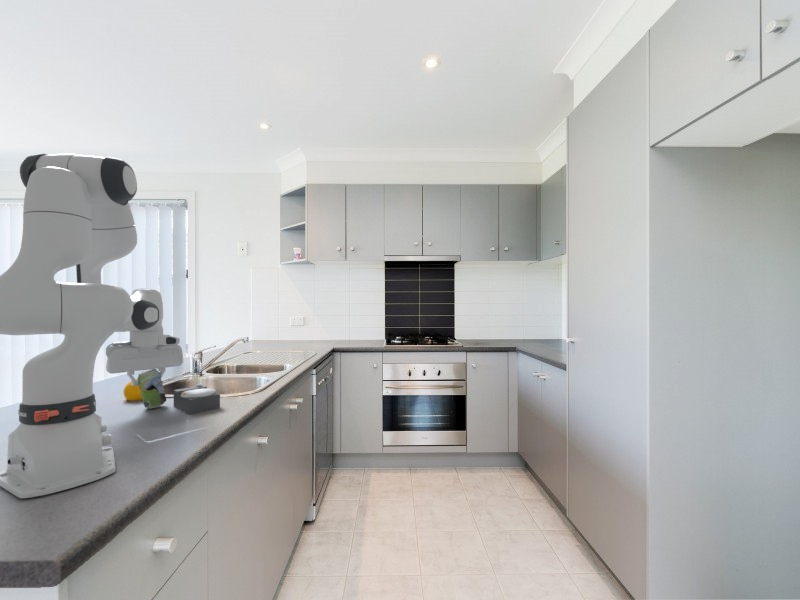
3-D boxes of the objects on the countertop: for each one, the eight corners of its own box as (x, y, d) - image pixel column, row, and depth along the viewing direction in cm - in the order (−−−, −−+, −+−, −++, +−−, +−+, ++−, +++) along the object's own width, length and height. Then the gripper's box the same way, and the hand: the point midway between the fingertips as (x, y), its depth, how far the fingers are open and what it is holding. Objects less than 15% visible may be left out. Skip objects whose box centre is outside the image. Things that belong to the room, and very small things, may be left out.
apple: (121, 404, 124) (122, 382, 124) (125, 399, 131) (125, 378, 131) (150, 401, 128) (150, 379, 129) (152, 396, 135) (152, 375, 135)
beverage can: (170, 405, 121) (168, 368, 120) (145, 411, 114) (142, 373, 114) (160, 402, 124) (158, 366, 124) (135, 409, 118) (133, 371, 117)
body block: (220, 407, 120) (220, 388, 120) (188, 414, 112) (188, 393, 112) (203, 401, 128) (203, 382, 128) (172, 407, 121) (172, 387, 121)
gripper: (108, 343, 108) (108, 391, 108) (185, 338, 124) (185, 380, 124) (103, 342, 112) (103, 388, 112) (177, 337, 128) (177, 378, 128)
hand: (146, 383), depth 118 cm, fingers closed on beverage can, 5 cm apart
